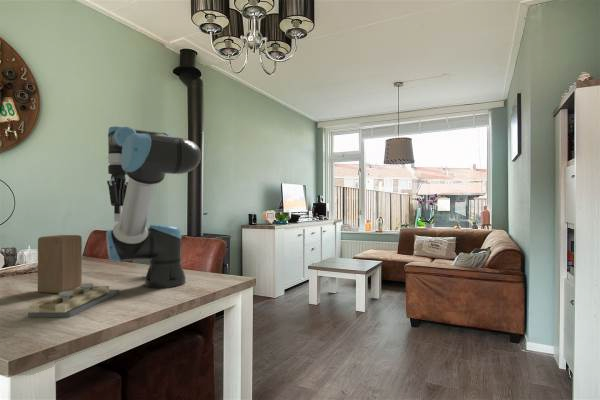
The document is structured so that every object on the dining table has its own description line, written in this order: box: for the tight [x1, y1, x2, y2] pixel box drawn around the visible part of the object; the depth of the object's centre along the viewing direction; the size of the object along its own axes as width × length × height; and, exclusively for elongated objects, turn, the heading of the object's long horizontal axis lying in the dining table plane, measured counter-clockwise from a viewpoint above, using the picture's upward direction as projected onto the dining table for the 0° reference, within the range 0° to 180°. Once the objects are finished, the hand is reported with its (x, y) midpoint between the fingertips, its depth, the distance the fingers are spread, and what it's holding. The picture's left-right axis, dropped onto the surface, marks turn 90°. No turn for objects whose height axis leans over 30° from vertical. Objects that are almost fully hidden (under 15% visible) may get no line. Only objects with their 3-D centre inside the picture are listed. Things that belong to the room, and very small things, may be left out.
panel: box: [28, 285, 110, 313], centre depth 108 cm, size 22×10×2 cm, turn 0°
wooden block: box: [37, 234, 83, 294], centre depth 128 cm, size 10×10×20 cm
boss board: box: [27, 282, 120, 318], centre depth 111 cm, size 26×12×5 cm, turn 0°
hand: (118, 221), depth 144 cm, fingers closed
